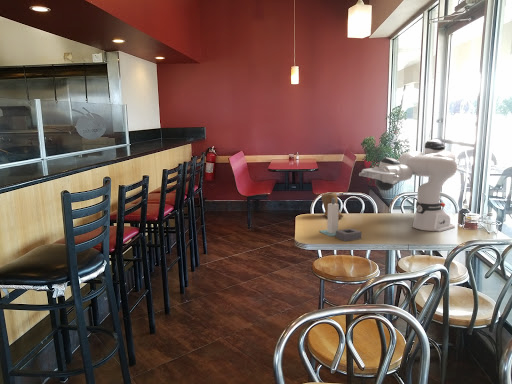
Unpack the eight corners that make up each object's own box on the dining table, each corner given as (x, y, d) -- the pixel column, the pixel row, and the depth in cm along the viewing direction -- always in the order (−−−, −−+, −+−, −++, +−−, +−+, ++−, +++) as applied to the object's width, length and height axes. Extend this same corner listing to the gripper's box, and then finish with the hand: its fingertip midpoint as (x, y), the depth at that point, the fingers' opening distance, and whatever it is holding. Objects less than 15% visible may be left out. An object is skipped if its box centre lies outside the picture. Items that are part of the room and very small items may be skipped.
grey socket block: (352, 234, 210) (352, 228, 210) (361, 238, 203) (361, 231, 203) (335, 237, 206) (335, 230, 206) (344, 241, 199) (344, 234, 199)
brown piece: (319, 214, 257) (320, 190, 255) (338, 213, 257) (339, 190, 255) (323, 219, 242) (324, 195, 240) (343, 219, 242) (344, 194, 240)
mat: (335, 229, 220) (335, 228, 220) (346, 234, 211) (346, 233, 211) (319, 231, 217) (319, 230, 216) (329, 236, 208) (330, 235, 207)
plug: (333, 230, 216) (334, 197, 213) (338, 232, 213) (338, 198, 210) (327, 231, 215) (327, 198, 212) (331, 233, 211) (332, 199, 208)
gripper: (400, 182, 207) (378, 184, 202) (374, 177, 226) (353, 179, 220) (401, 170, 206) (379, 171, 201) (374, 166, 224) (353, 167, 219)
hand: (365, 175), depth 211 cm, fingers open, 8 cm apart
